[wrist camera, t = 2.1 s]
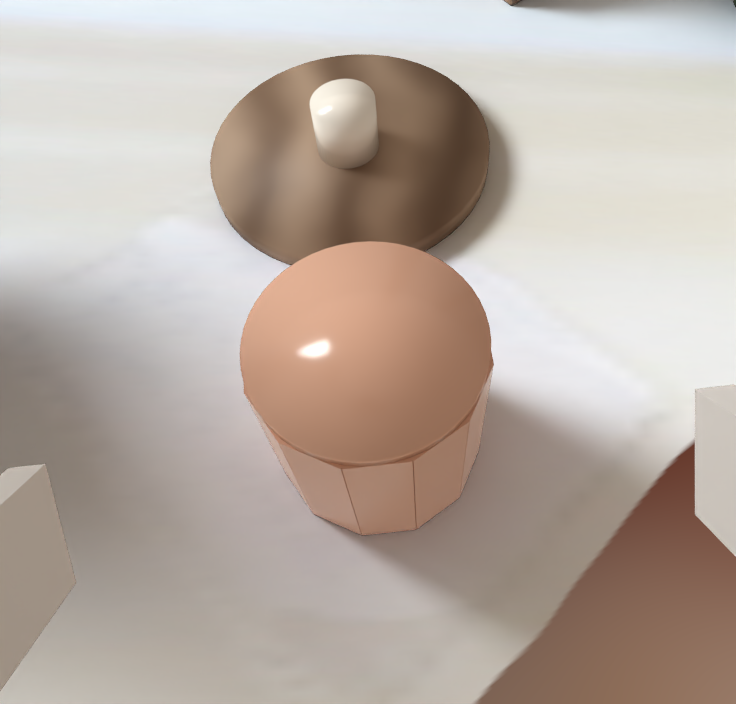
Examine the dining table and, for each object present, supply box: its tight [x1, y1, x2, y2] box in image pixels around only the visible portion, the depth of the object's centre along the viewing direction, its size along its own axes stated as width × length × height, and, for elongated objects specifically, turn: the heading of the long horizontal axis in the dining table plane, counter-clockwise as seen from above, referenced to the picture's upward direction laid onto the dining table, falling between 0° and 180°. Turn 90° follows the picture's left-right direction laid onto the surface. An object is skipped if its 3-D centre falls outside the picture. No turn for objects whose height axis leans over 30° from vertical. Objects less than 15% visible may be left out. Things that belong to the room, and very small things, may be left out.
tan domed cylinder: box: [240, 241, 494, 535], centre depth 35 cm, size 11×11×11 cm
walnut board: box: [210, 55, 489, 265], centre depth 50 cm, size 20×20×2 cm
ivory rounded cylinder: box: [310, 79, 379, 169], centre depth 48 cm, size 4×4×4 cm
